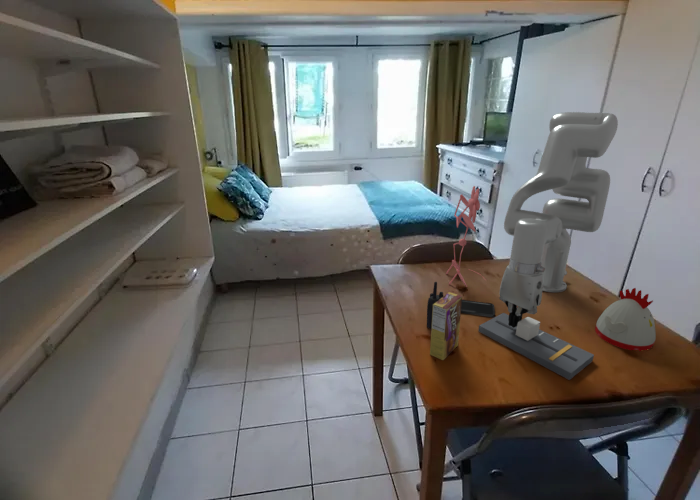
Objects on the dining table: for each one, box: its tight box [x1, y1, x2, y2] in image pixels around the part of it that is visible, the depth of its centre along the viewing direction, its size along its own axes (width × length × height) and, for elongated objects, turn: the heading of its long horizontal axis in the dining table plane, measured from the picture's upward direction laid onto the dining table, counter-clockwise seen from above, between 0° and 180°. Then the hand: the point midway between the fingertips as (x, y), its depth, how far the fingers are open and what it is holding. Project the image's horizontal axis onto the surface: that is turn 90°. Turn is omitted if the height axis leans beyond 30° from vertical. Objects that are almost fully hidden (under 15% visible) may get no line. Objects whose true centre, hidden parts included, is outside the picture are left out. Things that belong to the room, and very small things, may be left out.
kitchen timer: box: [594, 287, 657, 352], centre depth 108 cm, size 14×14×15 cm
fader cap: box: [516, 316, 541, 341], centre depth 106 cm, size 5×4×4 cm
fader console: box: [477, 312, 595, 381], centre depth 106 cm, size 12×26×2 cm, turn 36°
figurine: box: [445, 185, 488, 293], centre depth 138 cm, size 15×26×35 cm, turn 174°
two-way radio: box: [426, 281, 444, 330], centre depth 113 cm, size 6×4×15 cm
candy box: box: [429, 291, 463, 361], centre depth 102 cm, size 9×4×15 cm, turn 140°
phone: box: [461, 299, 496, 318], centre depth 125 cm, size 8×1×15 cm
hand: (514, 324), depth 109 cm, fingers closed
